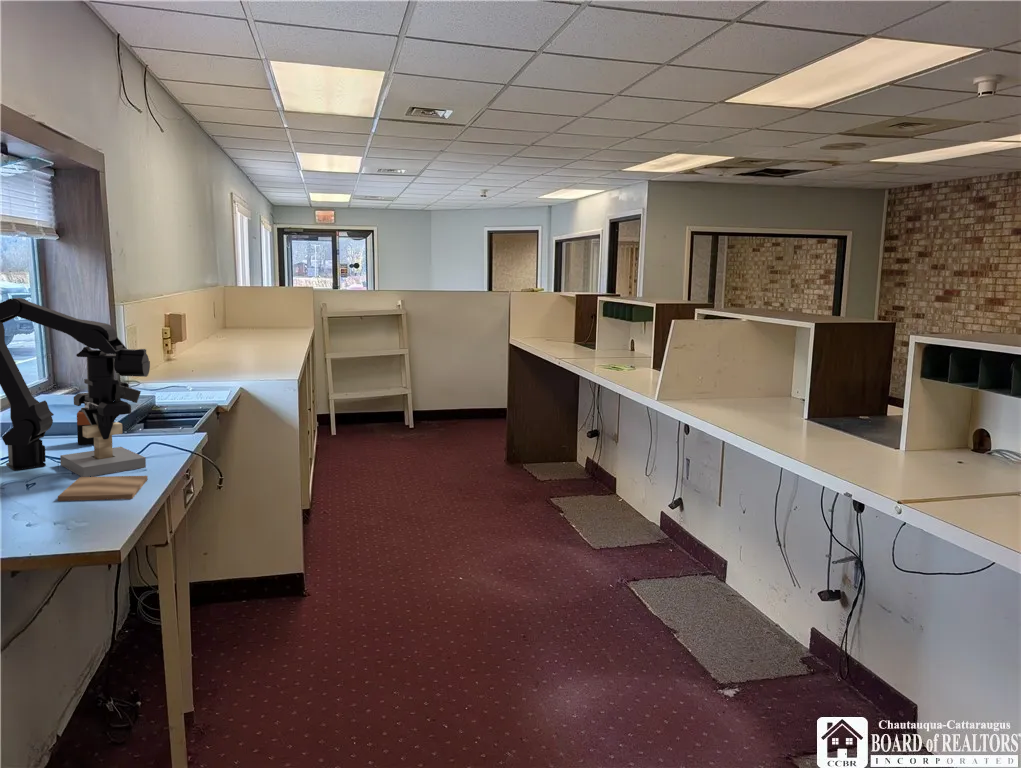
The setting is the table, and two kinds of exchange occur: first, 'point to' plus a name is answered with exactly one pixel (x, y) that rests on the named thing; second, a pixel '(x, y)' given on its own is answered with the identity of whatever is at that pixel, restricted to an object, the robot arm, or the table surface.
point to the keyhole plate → (102, 462)
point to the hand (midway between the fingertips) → (102, 437)
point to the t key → (102, 440)
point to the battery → (81, 422)
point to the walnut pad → (103, 488)
